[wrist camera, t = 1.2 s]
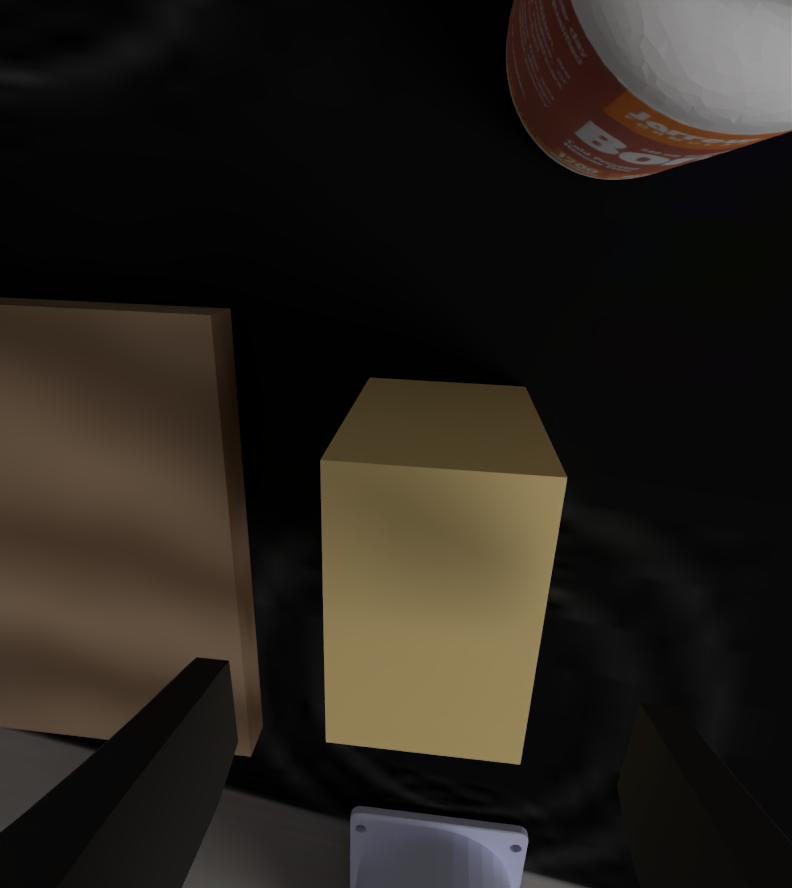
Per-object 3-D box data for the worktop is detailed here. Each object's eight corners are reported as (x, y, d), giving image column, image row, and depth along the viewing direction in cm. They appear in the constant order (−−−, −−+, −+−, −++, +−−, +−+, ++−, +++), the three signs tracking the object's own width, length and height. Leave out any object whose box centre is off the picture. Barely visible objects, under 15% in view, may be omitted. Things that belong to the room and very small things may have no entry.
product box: (498, 599, 20) (518, 771, 14) (366, 587, 21) (326, 749, 14) (524, 386, 17) (567, 477, 11) (370, 377, 18) (319, 459, 11)
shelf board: (263, 726, 24) (251, 756, 22) (8, 697, 25) (-19, 724, 23) (230, 308, 17) (210, 315, 16) (-115, 291, 18) (-162, 296, 17)
